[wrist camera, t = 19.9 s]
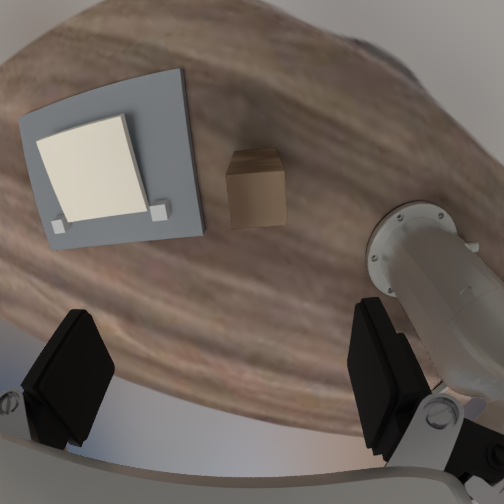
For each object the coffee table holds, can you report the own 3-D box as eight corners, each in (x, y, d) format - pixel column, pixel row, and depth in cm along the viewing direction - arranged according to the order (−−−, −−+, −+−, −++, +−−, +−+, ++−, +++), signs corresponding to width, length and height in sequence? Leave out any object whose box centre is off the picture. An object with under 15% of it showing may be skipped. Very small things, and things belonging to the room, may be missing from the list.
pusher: (275, 148, 30) (284, 170, 21) (278, 186, 32) (287, 225, 23) (234, 151, 30) (225, 175, 21) (238, 189, 32) (231, 229, 23)
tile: (147, 211, 30) (149, 205, 31) (120, 116, 24) (124, 113, 24) (68, 222, 31) (71, 217, 31) (36, 141, 24) (41, 137, 25)
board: (183, 69, 26) (175, 66, 23) (205, 229, 34) (200, 242, 31) (25, 116, 27) (9, 120, 24) (57, 245, 35) (45, 256, 32)
